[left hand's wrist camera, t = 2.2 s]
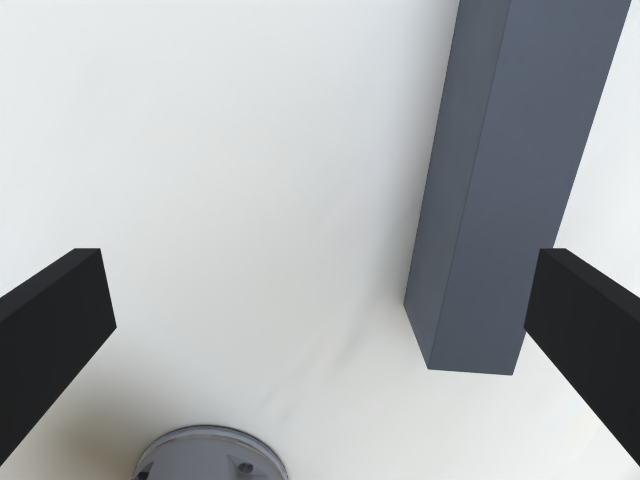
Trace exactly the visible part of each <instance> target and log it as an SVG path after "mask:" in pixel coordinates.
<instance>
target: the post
mask: <svg viewBox="0 0 640 480" xmlns="http://www.w3.org/2000/svg"><path fill="white" fill-rule="evenodd" d="M630 3H631V0H460V3H459V8H458V14H457V19H456V25H455V30H454V35H453V41H452V46H451V52H450V57H449V62H448V68H447V73H446V79H445V84H444V89H443V95H442V100H441V105H440V111H439V116H438V122H437V127H436V132H435V138H434V143H433V149H432V154H431V159H430V165H429V170H428V176H427V181H426V186H425V192H424V197H423V203H422V208H421V213H420V219H419V224H418V230H417V235H416V240H415V246H414V251H413V256H412V262H411V267H410V273H409V278H408V283H407V289H406V294H405V300H404V307H405V310H406V313H407V315H408V318H409V321H410V323H411V326H412V329H413V331H414V334H415V337H416V339H417V342H418V344H419V347H420V350H421V352H422V355H423V358H424V360H425V363H426V366H427V368H428V369H430V370H444V371H458V372H471V373H485V374H498V375H513V372H514V369H515V365H516V362H517V359H518V356H519V353H520V350H521V347H522V343H523V340H524V337H525V334H526V330H525V329H524V328H523V326H524V322H525V317H526V312H527V307H528V302H529V298H530V293H531V288H532V283H533V278H534V274H535V269H536V264H537V259H538V255H539V250H540V248H553V246H554V243H555V240H556V236H557V233H558V230H559V227H560V224H561V221H562V218H563V214H564V211H565V208H566V205H567V202H568V199H569V195H570V192H571V189H572V186H573V183H574V180H575V177H576V173H577V170H578V167H579V164H580V161H581V158H582V155H583V151H584V148H585V145H586V142H587V139H588V136H589V133H590V129H591V126H592V123H593V120H594V117H595V114H596V111H597V107H598V104H599V101H600V98H601V95H602V92H603V88H604V85H605V82H606V79H607V76H608V73H609V70H610V66H611V63H612V60H613V57H614V54H615V51H616V48H617V44H618V41H619V38H620V35H621V32H622V29H623V26H624V22H625V19H626V16H627V13H628V10H629V7H630Z"/></svg>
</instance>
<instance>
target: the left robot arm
mask: <svg viewBox="0 0 640 480" xmlns="http://www.w3.org/2000/svg"><path fill="white" fill-rule="evenodd" d="M116 328H117V326H116V322H115V317H114V312H113V307H112V302H111V298H110V293H109V288H108V283H107V278H106V274H105V269H104V264H103V259H102V255H101V250H100V248H74V249H73V250H71V251H70V252H68V253H67V254H65V255H64V256H62V257H61V258H59V259H58V260H56V261H55V262H53V263H52V264H50V265H49V266H47V267H46V268H44V269H43V270H41V271H40V272H38V273H37V274H35V275H34V276H32V277H31V278H29V279H28V280H26V281H25V282H23V283H22V284H20V285H19V286H17V287H16V288H14V289H13V290H11V291H10V292H8V293H7V294H5V295H4V296H2V297H1V298H0V466H1V465H2V464H3V463H4V462H5V460H6V459H7V458H8V457H9V456H10V454H11V453H12V452H13V451H14V450H15V448H16V447H17V446H18V445H19V444H20V443H21V441H22V440H23V439H24V438H25V437H26V435H27V434H28V433H29V432H30V431H31V429H32V428H33V427H34V426H35V425H36V423H37V422H38V421H39V420H40V419H41V417H42V416H43V415H44V414H45V413H46V411H47V410H48V409H49V408H50V407H51V405H52V404H53V403H54V402H55V401H56V400H57V398H58V397H59V396H60V395H61V394H62V392H63V391H64V390H65V389H66V388H67V386H68V385H69V384H70V383H71V382H72V380H73V379H74V378H75V377H76V376H77V374H78V373H79V372H80V371H81V370H82V368H83V367H84V366H85V365H86V364H87V362H88V361H89V360H90V359H91V358H92V356H93V355H94V354H95V353H96V352H97V351H98V349H99V348H100V347H101V346H102V345H103V343H104V342H105V341H106V340H107V339H108V337H109V336H110V335H111V334H112V333H113V331H114V330H115V329H116ZM523 328H524V329H525V330H526V331H527V333H528V334H529V335H530V336H531V337H532V339H533V340H534V341H535V342H536V343H537V345H538V346H539V347H540V348H541V349H542V351H543V352H544V353H545V354H546V355H547V356H548V358H549V359H550V360H551V361H552V362H553V364H554V365H555V366H556V367H557V368H558V370H559V371H560V372H561V373H562V374H563V376H564V377H565V378H566V379H567V380H568V382H569V383H570V384H571V385H572V386H573V388H574V389H575V390H576V391H577V392H578V394H579V395H580V396H581V397H582V398H583V400H584V401H585V402H586V403H587V404H588V405H589V407H590V408H591V409H592V410H593V411H594V413H595V414H596V415H597V416H598V417H599V419H600V420H601V421H602V422H603V423H604V425H605V426H606V427H607V428H608V429H609V431H610V432H611V433H612V434H613V435H614V437H615V438H616V439H617V440H618V441H619V442H620V444H621V445H622V446H623V447H624V448H625V450H626V451H627V452H628V453H629V454H630V456H631V457H632V458H633V459H634V460H635V462H636V463H637V464H638V465H639V466H640V298H639V297H638V296H636V295H635V294H633V293H632V292H630V291H629V290H627V289H626V288H624V287H623V286H621V285H620V284H618V283H617V282H615V281H614V280H612V279H611V278H609V277H608V276H606V275H605V274H603V273H602V272H600V271H599V270H597V269H596V268H594V267H593V266H591V265H590V264H588V263H587V262H585V261H584V260H582V259H581V258H579V257H578V256H576V255H575V254H573V253H572V252H570V251H569V250H567V249H566V248H540V250H539V255H538V259H537V264H536V269H535V274H534V278H533V283H532V288H531V293H530V298H529V302H528V307H527V312H526V317H525V322H524V326H523ZM132 480H288V477H287V474H286V471H285V468H284V466H283V465H282V463H281V461H280V460H279V458H278V457H277V456H276V455H275V454H274V453H273V452H272V451H271V450H270V449H269V448H268V447H267V446H265V445H264V444H263V443H261V442H260V441H258V440H257V439H255V438H253V437H251V436H249V435H246V434H244V433H241V432H238V431H235V430H231V429H227V428H222V427H213V426H197V427H189V428H184V429H180V430H176V431H173V432H171V433H168V434H166V435H164V436H162V437H161V438H159V439H158V440H156V441H155V442H153V443H152V444H151V445H150V446H149V447H148V448H147V449H146V450H145V452H144V453H143V455H142V457H141V458H140V460H139V462H138V464H137V467H136V469H135V471H134V473H133V476H132Z"/></svg>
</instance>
